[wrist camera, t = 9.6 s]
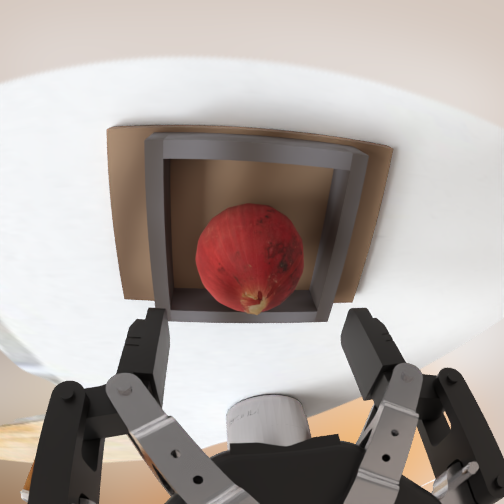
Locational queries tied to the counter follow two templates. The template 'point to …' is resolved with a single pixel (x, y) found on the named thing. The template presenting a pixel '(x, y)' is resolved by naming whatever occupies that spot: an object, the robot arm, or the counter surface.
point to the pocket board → (237, 193)
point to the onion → (250, 257)
